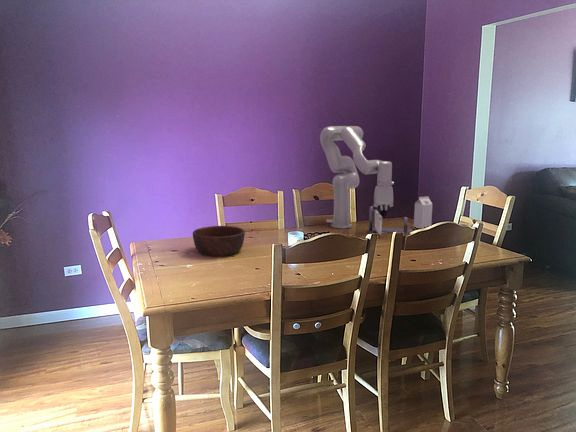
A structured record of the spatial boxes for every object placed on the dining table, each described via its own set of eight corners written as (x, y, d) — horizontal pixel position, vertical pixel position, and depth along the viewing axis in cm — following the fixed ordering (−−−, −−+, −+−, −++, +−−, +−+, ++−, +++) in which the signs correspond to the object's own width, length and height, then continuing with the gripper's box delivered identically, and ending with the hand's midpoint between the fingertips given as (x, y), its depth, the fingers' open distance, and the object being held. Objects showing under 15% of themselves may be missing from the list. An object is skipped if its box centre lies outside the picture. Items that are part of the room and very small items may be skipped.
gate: (373, 227, 290) (373, 209, 288) (376, 227, 290) (377, 209, 288) (378, 234, 271) (379, 216, 269) (382, 235, 271) (382, 216, 269)
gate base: (367, 232, 285) (368, 207, 283) (368, 229, 294) (369, 205, 291) (412, 234, 281) (414, 209, 278) (412, 231, 289) (413, 206, 286)
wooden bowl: (236, 260, 231) (235, 238, 229) (185, 257, 236) (184, 235, 234) (251, 246, 255) (250, 226, 253) (204, 244, 260) (203, 224, 258)
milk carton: (413, 228, 297) (415, 196, 293) (423, 227, 300) (424, 195, 296) (421, 230, 291) (423, 198, 287) (431, 229, 294) (433, 197, 290)
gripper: (396, 183, 277) (394, 215, 281) (369, 183, 277) (368, 216, 280) (399, 184, 270) (398, 218, 273) (371, 185, 269) (370, 218, 273)
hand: (383, 217), depth 277 cm, fingers closed
